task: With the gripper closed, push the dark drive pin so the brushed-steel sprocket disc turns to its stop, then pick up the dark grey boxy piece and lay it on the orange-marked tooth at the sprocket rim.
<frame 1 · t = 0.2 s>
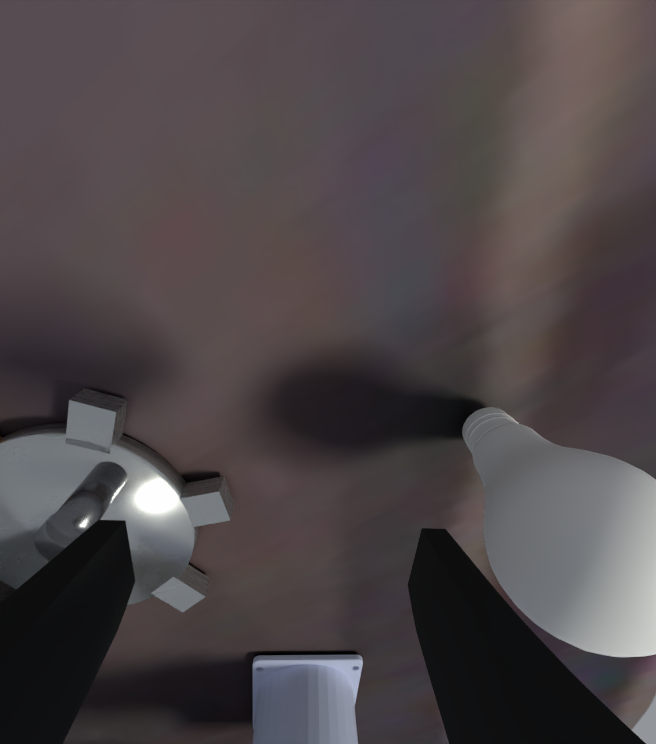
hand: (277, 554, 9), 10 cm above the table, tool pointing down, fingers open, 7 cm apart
sprocket: (64, 551, 18), point 3 cm above the table, hinge at 0.0°
lightbulb: (477, 418, 20), on the table
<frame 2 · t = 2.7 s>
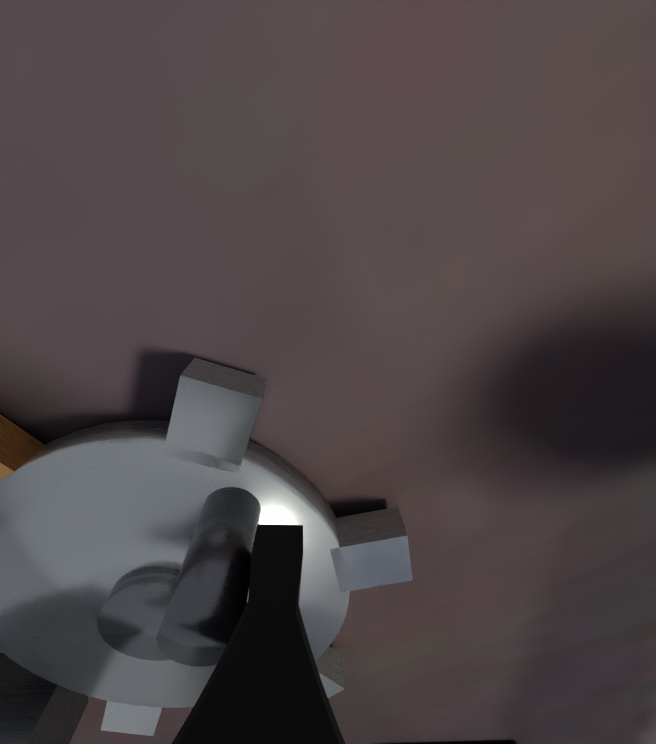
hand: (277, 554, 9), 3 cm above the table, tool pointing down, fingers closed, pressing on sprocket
sprocket: (148, 640, 11), point 3 cm above the table, hinge at 0.0°, touching gripper
dark grey boxy piece: (19, 677, 15), on the table
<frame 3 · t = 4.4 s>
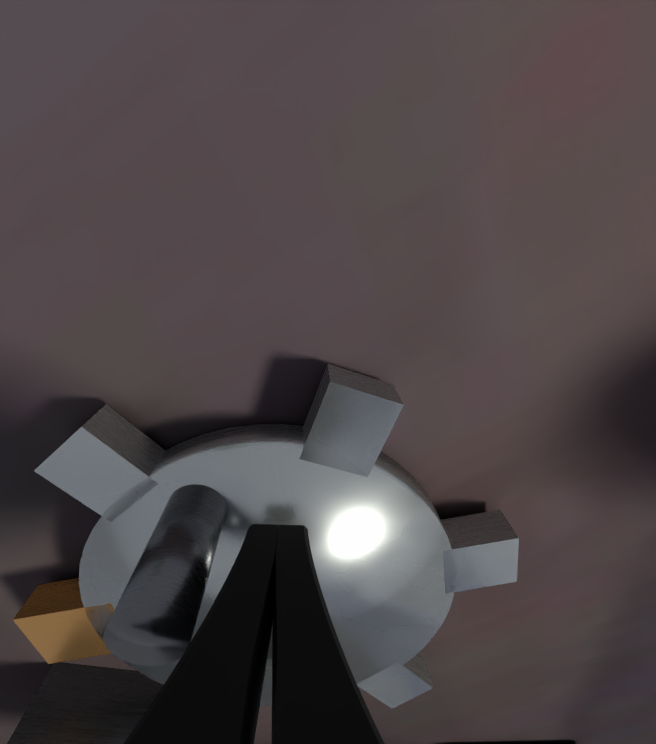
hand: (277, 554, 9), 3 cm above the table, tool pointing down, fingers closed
sprocket: (271, 639, 11), point 3 cm above the table, hinge at 60.2°
dark grey boxy piece: (115, 690, 16), on the table
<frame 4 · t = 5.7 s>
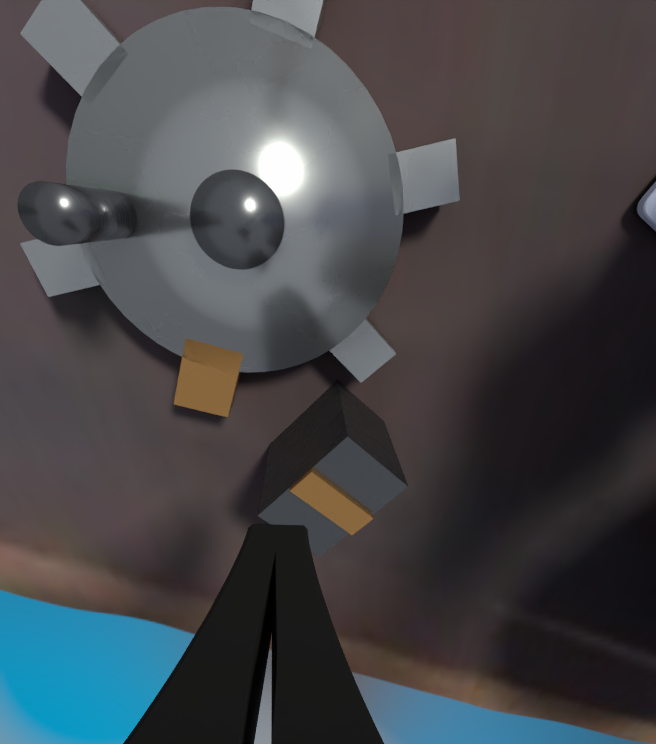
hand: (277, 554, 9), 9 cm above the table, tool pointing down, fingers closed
sprocket: (235, 222, 12), point 3 cm above the table, hinge at 60.2°
dark grey boxy piece: (326, 432, 19), on the table
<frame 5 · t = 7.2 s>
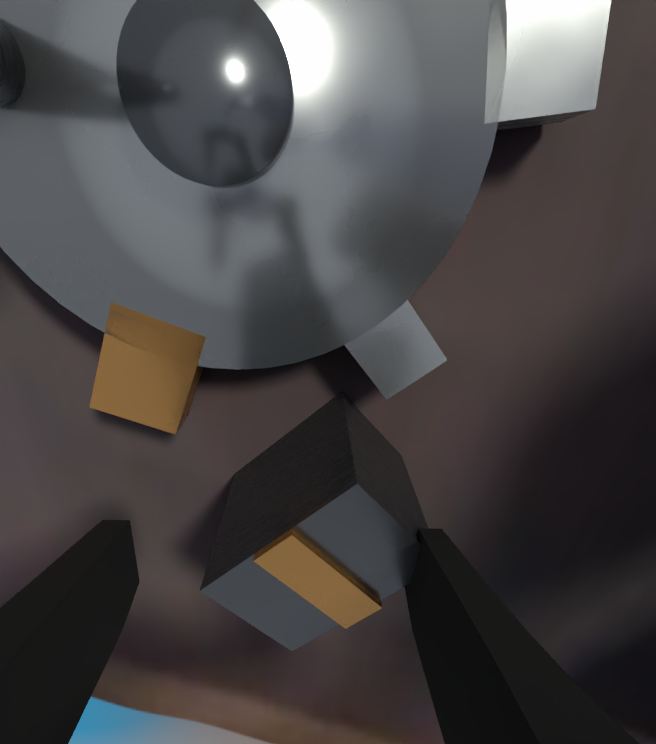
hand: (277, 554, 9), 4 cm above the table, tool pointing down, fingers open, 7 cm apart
sprocket: (201, 82, 6), point 3 cm above the table, hinge at 60.2°
dark grey boxy piece: (317, 455, 14), on the table, touching gripper
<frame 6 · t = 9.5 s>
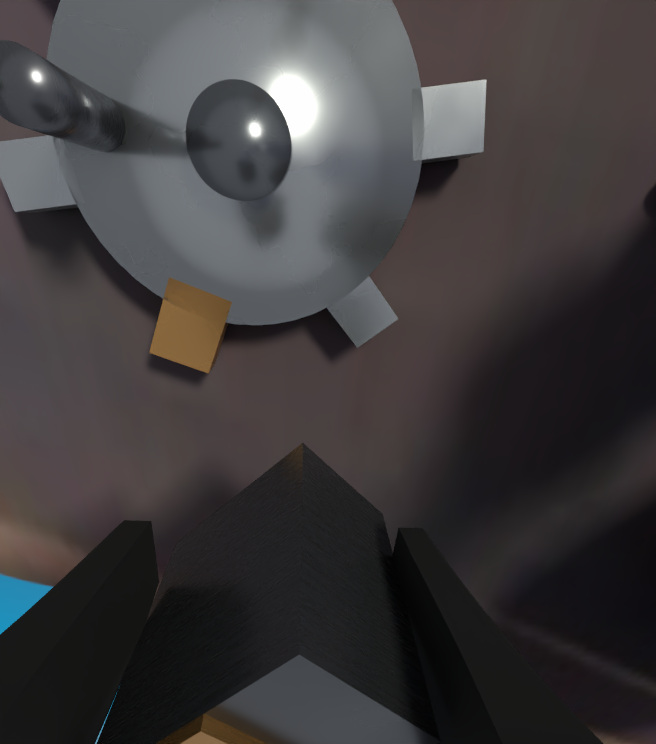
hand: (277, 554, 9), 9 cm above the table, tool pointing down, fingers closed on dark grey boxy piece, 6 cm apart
sprocket: (237, 140, 11), point 3 cm above the table, hinge at 60.2°
dark grey boxy piece: (279, 528, 11), point 7 cm above the table, touching gripper
when the fingers open (4 cm above the table, at t = 11.4 s): dark grey boxy piece drops 1 cm, resting on sprocket.
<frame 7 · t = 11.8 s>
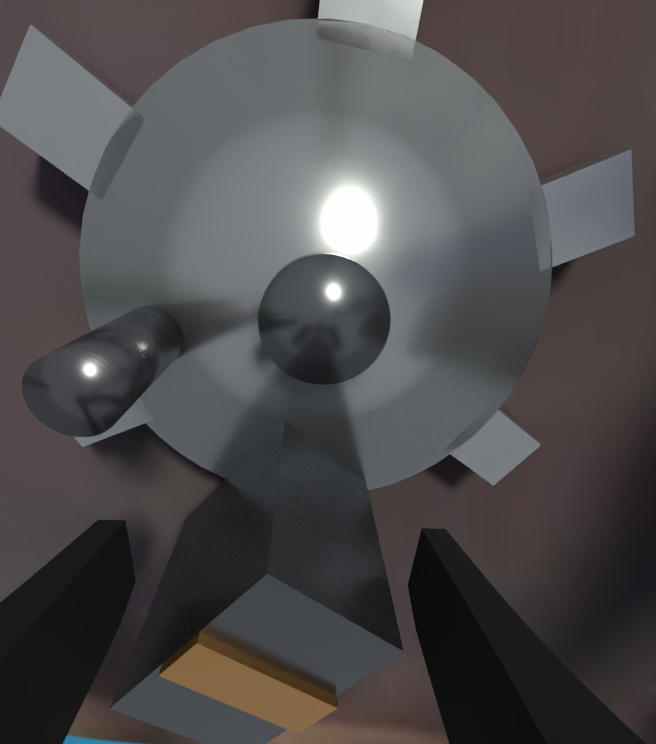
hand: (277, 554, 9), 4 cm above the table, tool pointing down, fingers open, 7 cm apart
sprocket: (325, 328, 8), point 3 cm above the table, hinge at 60.2°, touching dark grey boxy piece
dark grey boxy piece: (274, 500, 12), point 1 cm above the table, touching sprocket
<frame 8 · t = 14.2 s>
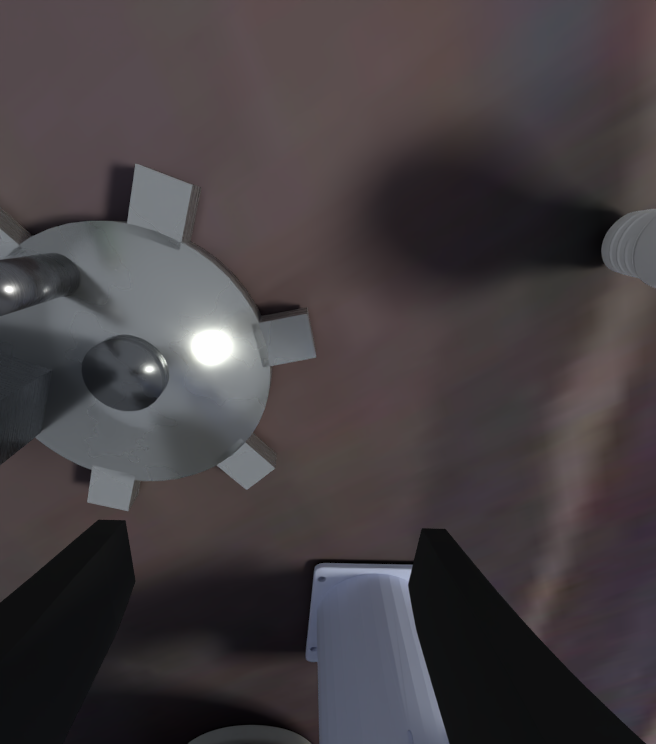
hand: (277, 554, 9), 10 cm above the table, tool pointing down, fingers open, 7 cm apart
sprocket: (118, 380, 15), point 3 cm above the table, hinge at 60.2°, touching dark grey boxy piece
lightbulb: (612, 241, 16), on the table
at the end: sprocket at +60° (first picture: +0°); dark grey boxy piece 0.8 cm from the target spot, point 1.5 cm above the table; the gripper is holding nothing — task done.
